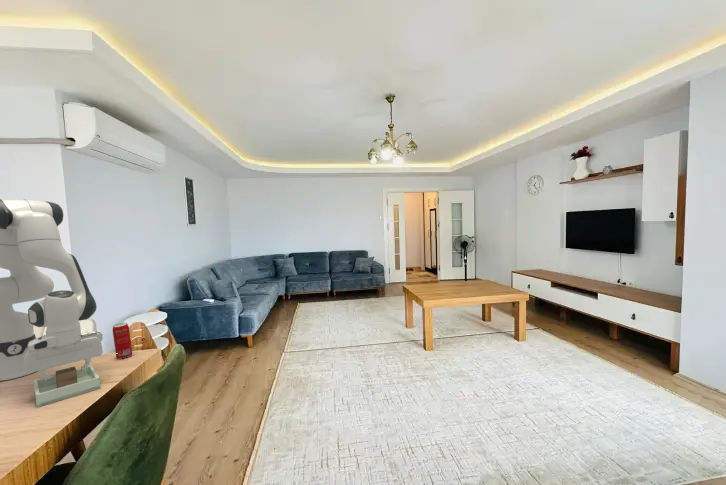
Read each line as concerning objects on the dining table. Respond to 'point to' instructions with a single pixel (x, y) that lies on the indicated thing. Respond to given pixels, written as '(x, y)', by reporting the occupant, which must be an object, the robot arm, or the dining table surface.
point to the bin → (65, 387)
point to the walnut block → (66, 377)
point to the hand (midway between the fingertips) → (66, 375)
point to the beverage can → (122, 340)
